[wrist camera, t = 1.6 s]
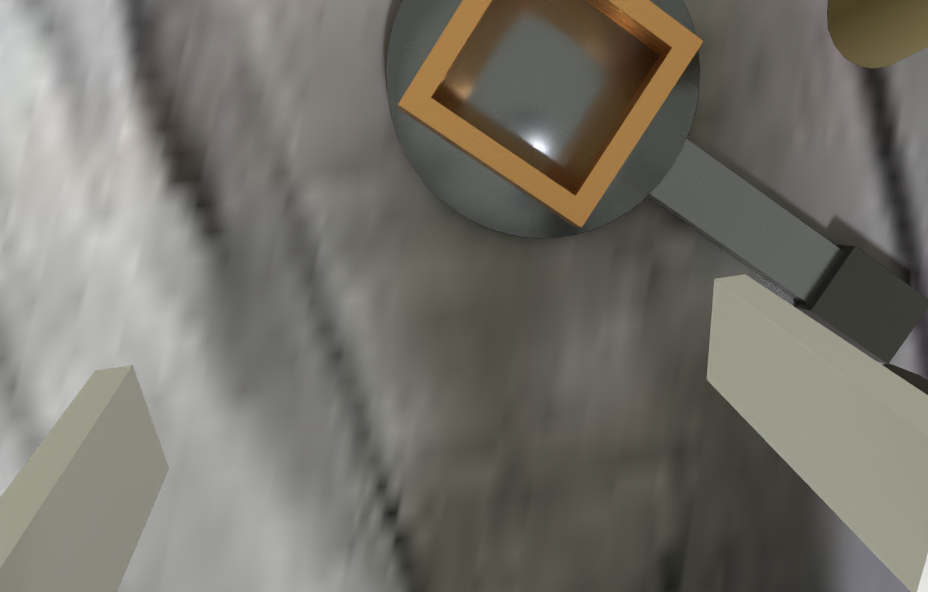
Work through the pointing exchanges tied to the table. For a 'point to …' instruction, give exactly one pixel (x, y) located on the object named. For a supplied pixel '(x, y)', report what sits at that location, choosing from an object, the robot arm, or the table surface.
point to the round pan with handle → (606, 143)
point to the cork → (878, 29)
